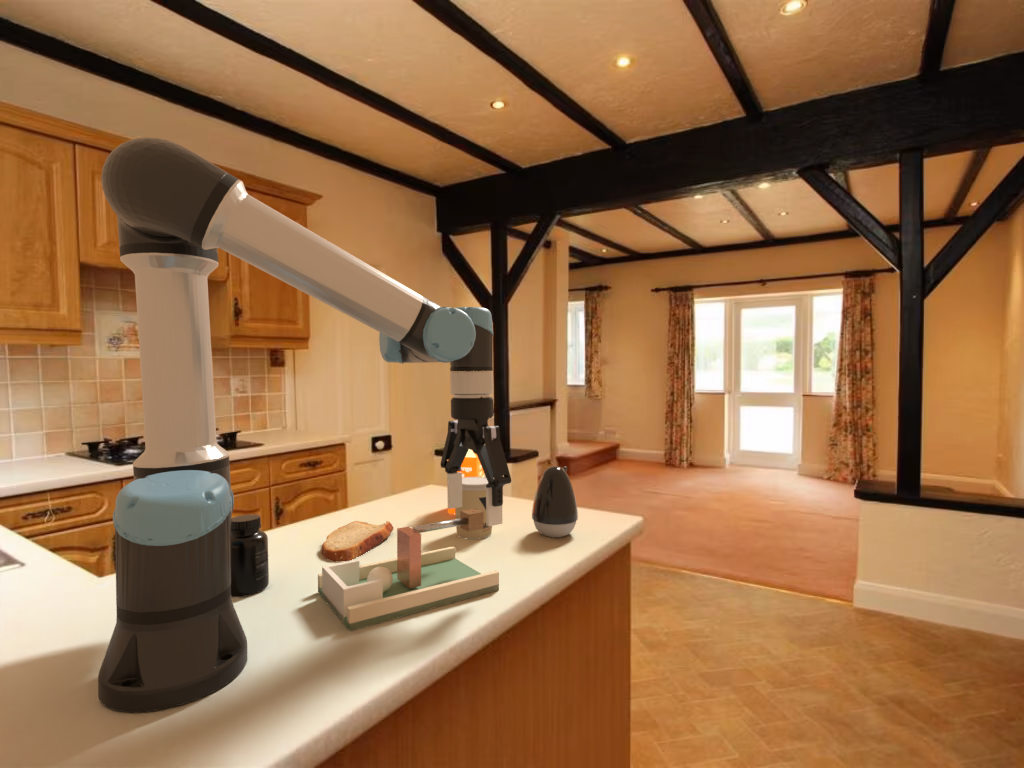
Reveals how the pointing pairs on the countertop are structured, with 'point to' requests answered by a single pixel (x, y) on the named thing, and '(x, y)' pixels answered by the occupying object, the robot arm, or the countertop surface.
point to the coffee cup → (473, 505)
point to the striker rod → (412, 544)
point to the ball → (381, 577)
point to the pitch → (400, 588)
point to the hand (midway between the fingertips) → (473, 515)
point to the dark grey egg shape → (554, 503)
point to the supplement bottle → (248, 556)
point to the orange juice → (470, 468)
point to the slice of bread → (354, 540)
